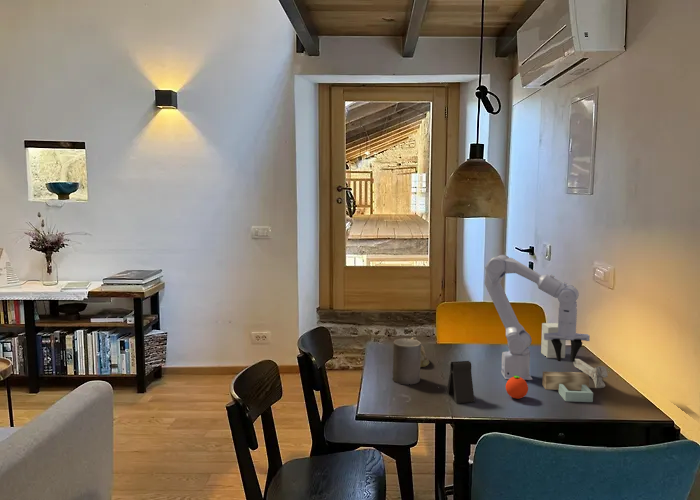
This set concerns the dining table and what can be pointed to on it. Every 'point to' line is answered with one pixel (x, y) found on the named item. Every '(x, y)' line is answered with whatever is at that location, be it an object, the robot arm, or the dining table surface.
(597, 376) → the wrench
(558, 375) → the tan rectangular block
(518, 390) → the clementine
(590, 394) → the bracket
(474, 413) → the dining table surface
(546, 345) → the supplement box
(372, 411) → the dining table surface
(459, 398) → the phone stand
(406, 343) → the pillar candle
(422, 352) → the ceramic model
